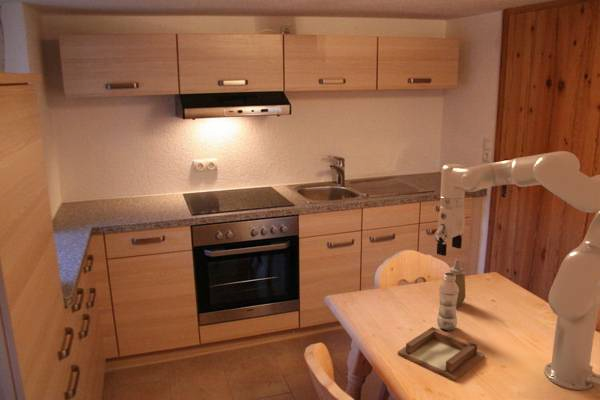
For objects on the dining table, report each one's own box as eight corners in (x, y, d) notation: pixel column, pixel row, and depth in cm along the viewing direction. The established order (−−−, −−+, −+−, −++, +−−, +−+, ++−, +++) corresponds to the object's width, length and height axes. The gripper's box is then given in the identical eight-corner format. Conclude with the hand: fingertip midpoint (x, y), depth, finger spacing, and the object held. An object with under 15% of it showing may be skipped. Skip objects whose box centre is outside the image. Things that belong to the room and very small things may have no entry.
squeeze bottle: (467, 302, 192) (470, 258, 187) (461, 310, 185) (465, 265, 181) (446, 297, 196) (449, 254, 191) (440, 305, 189) (443, 261, 185)
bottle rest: (484, 357, 154) (485, 345, 153) (455, 381, 142) (455, 368, 141) (428, 334, 168) (429, 323, 167) (397, 354, 156) (398, 342, 155)
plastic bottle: (457, 333, 168) (461, 278, 163) (437, 331, 170) (440, 277, 165) (455, 324, 174) (459, 271, 170) (436, 322, 176) (439, 270, 171)
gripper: (448, 208, 153) (445, 260, 157) (475, 199, 165) (472, 247, 169) (427, 204, 159) (425, 254, 163) (455, 195, 170) (452, 242, 174)
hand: (449, 251), depth 166 cm, fingers open, 9 cm apart
